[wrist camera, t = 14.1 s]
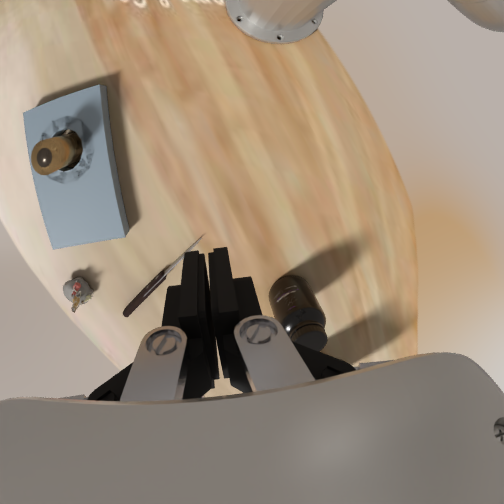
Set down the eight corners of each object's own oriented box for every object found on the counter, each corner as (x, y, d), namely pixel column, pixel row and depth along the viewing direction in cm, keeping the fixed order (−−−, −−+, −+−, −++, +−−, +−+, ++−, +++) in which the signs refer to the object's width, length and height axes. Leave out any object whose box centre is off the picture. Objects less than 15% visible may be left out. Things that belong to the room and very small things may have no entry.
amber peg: (58, 137, 30) (28, 145, 22) (83, 129, 30) (55, 135, 23) (63, 165, 31) (34, 179, 24) (87, 158, 32) (61, 170, 25)
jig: (32, 111, 27) (23, 112, 25) (106, 86, 28) (99, 84, 26) (59, 242, 36) (53, 249, 34) (129, 229, 37) (125, 237, 35)
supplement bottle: (278, 269, 44) (301, 319, 33) (315, 279, 46) (345, 327, 35) (260, 304, 46) (277, 358, 36) (297, 312, 48) (319, 363, 38)
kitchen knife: (129, 311, 43) (126, 318, 42) (124, 307, 43) (121, 315, 41) (204, 237, 40) (204, 243, 38) (199, 232, 39) (198, 238, 38)
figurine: (64, 291, 39) (56, 314, 34) (67, 269, 38) (58, 291, 33) (92, 299, 42) (88, 323, 37) (97, 278, 41) (91, 301, 36)
